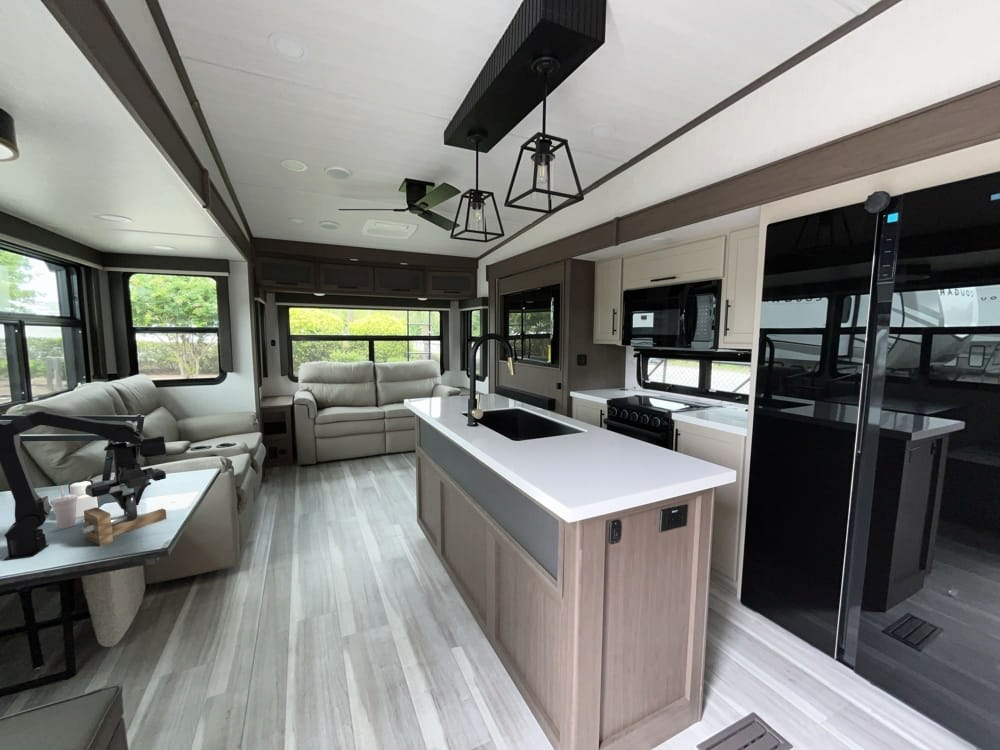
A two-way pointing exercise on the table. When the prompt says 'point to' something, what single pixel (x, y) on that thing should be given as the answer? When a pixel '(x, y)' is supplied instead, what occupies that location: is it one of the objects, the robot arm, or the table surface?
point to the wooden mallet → (106, 531)
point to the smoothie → (65, 509)
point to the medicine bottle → (82, 497)
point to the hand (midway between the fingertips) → (130, 507)
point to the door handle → (129, 512)
